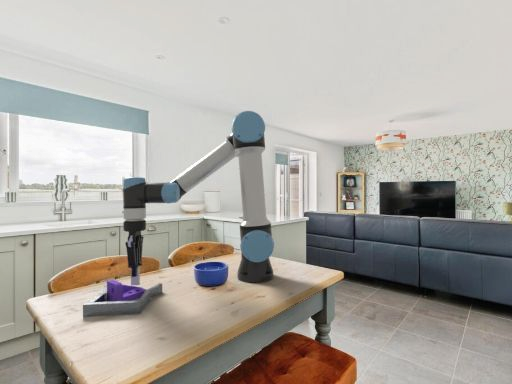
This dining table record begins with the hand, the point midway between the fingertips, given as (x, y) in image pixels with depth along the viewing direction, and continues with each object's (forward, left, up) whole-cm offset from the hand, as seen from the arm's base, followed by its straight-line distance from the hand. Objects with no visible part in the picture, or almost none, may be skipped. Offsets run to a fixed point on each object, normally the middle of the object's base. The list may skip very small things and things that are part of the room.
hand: (135, 284), depth 101 cm
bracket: (0, +6, -3) cm, 7 cm away
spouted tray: (0, +10, -2) cm, 11 cm away
